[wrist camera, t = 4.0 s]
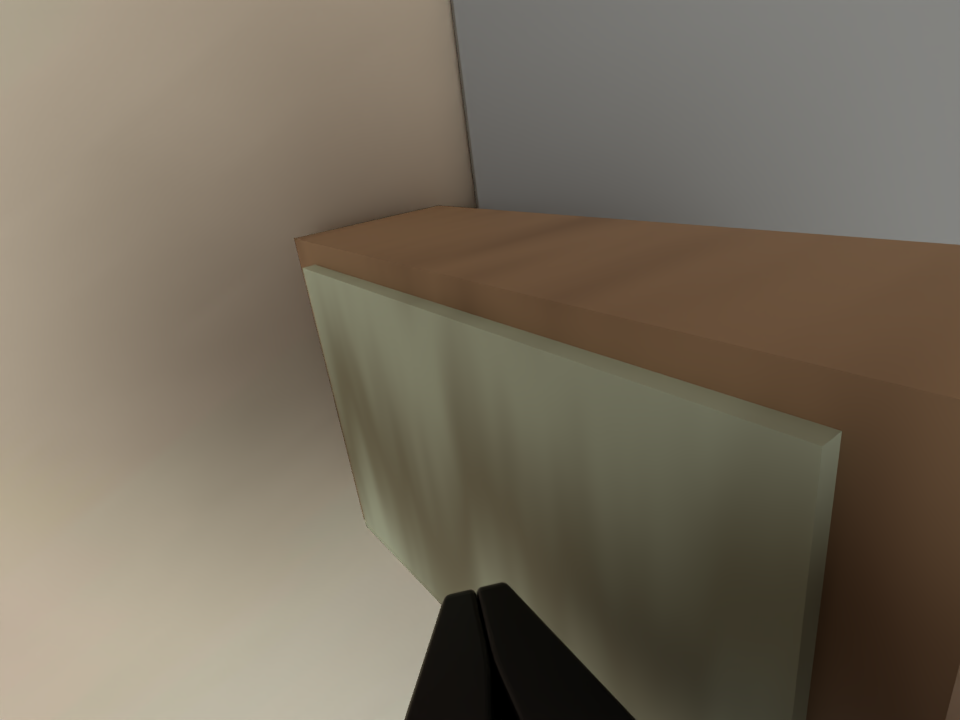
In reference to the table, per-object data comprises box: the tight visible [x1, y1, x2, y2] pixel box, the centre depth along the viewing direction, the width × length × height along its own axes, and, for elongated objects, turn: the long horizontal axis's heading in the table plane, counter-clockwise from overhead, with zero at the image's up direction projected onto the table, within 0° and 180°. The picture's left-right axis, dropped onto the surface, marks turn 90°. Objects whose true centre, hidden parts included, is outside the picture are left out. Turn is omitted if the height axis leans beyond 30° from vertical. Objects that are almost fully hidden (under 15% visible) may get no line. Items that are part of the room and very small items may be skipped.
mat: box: [451, 0, 960, 245], centre depth 18 cm, size 18×16×1 cm
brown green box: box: [294, 206, 960, 720], centre depth 11 cm, size 8×4×13 cm, turn 7°
